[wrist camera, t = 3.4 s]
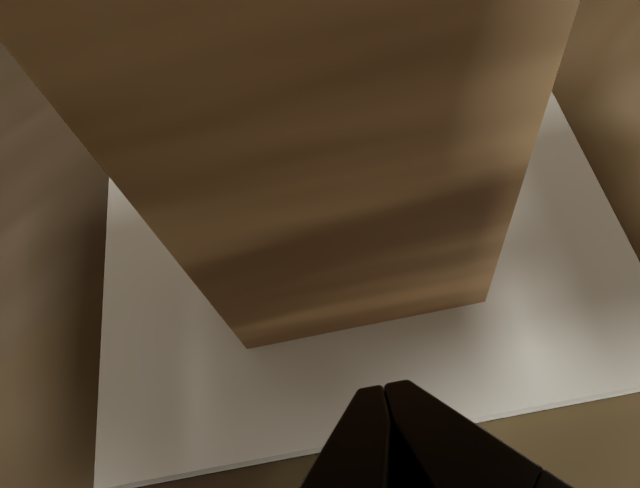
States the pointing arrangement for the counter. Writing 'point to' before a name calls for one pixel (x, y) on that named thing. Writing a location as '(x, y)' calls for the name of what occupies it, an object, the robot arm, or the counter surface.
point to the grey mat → (366, 339)
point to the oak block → (307, 141)
